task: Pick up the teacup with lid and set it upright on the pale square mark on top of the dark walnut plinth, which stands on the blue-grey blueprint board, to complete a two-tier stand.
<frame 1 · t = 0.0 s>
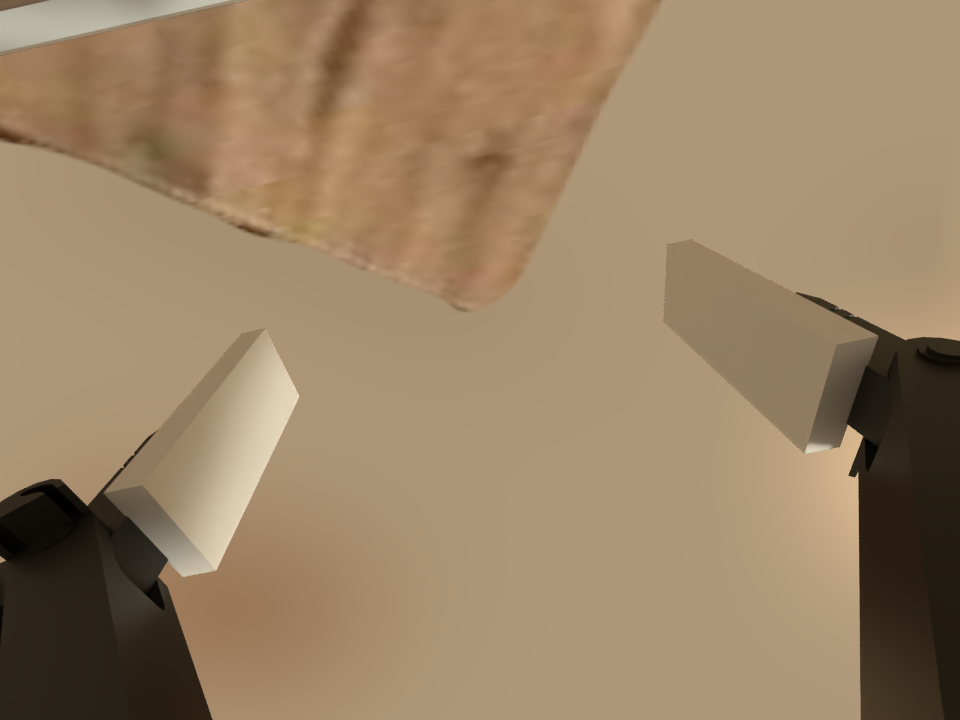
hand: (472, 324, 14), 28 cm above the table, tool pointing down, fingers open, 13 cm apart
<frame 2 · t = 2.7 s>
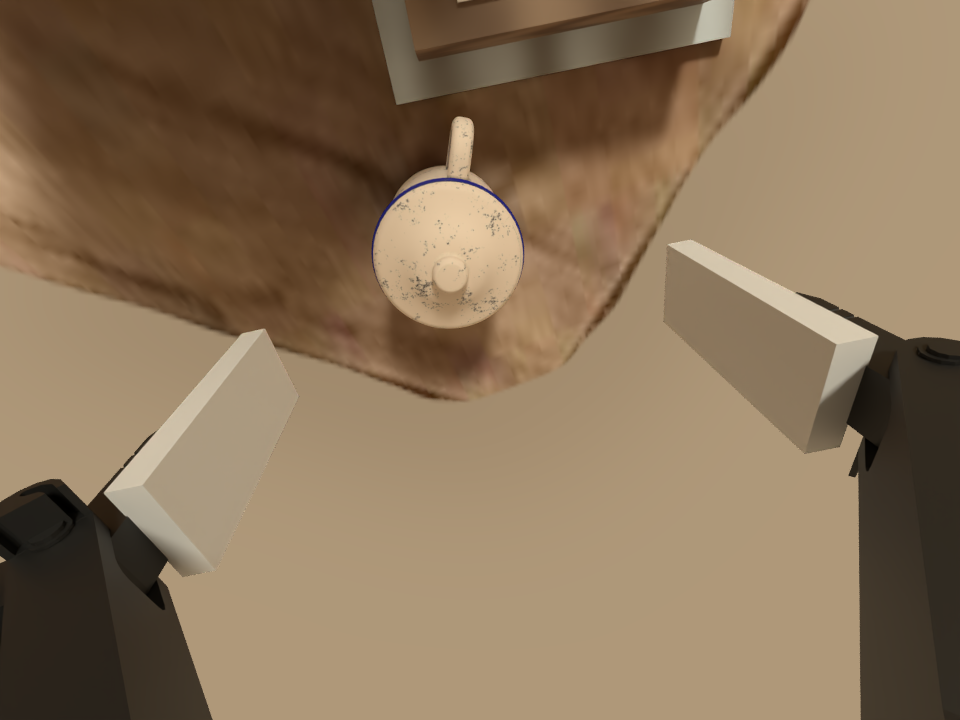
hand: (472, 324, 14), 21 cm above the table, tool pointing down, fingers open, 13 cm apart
teacup with lid: (448, 205, 32), on the table
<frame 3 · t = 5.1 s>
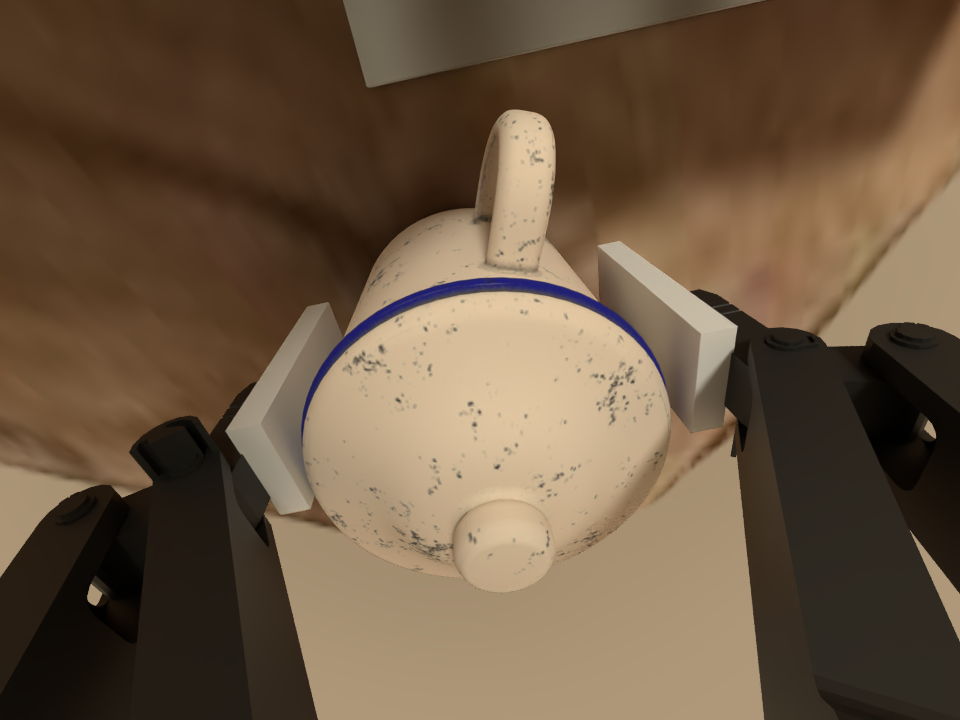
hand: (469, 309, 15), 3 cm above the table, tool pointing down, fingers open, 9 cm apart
teacup with lid: (474, 277, 17), on the table, touching gripper
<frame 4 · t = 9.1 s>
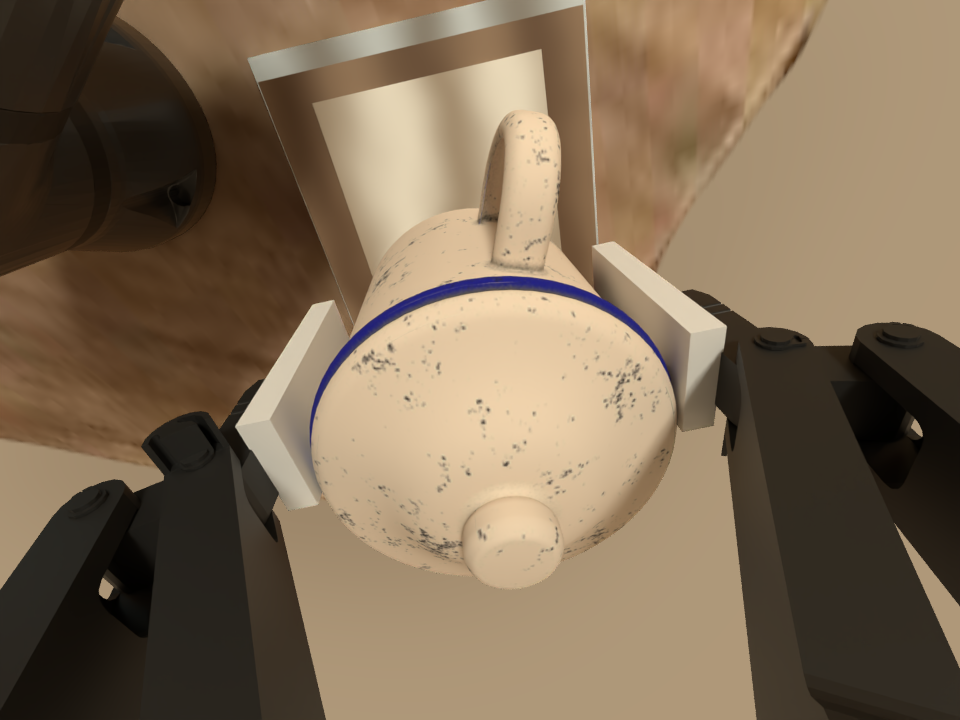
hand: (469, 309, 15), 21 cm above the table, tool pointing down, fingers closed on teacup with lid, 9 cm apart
teacup with lid: (477, 277, 17), point 19 cm above the table, touching gripper
plinth: (452, 195, 33), on the table
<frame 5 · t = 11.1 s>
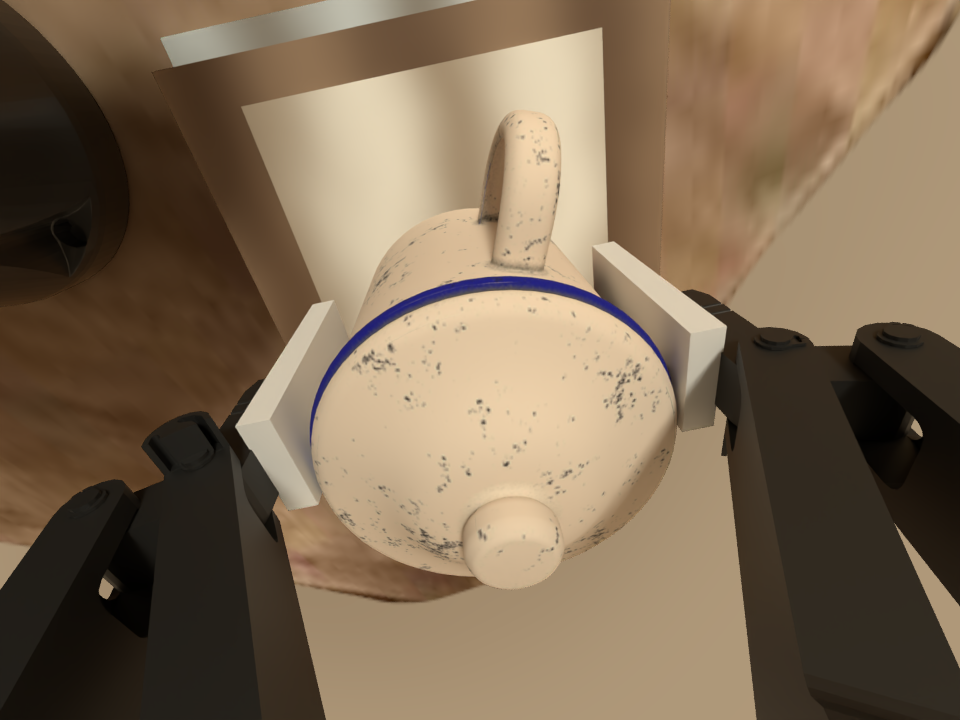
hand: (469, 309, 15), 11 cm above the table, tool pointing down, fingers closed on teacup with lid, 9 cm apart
teacup with lid: (477, 277, 17), point 9 cm above the table, touching gripper
plinth: (456, 230, 25), on the table
when the fingers open (11 cm above the table, at t = 12.6 s): teacup with lid drops 1 cm, resting on plinth.
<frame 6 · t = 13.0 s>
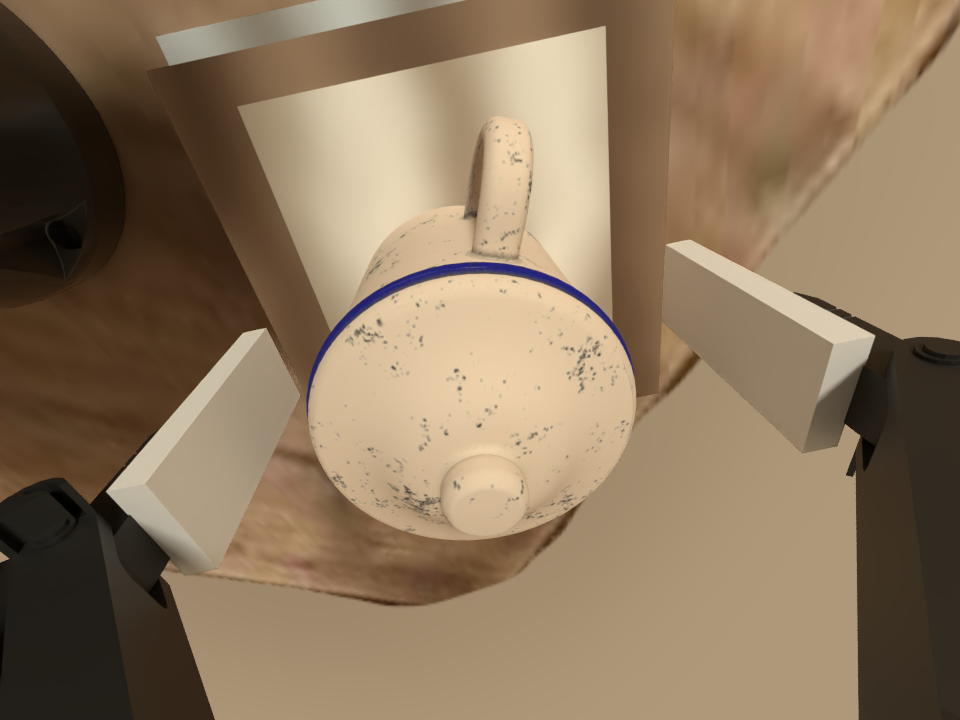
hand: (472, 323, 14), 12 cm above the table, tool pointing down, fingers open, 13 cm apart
teacup with lid: (465, 270, 19), point 7 cm above the table, touching plinth
plinth: (457, 232, 24), on the table
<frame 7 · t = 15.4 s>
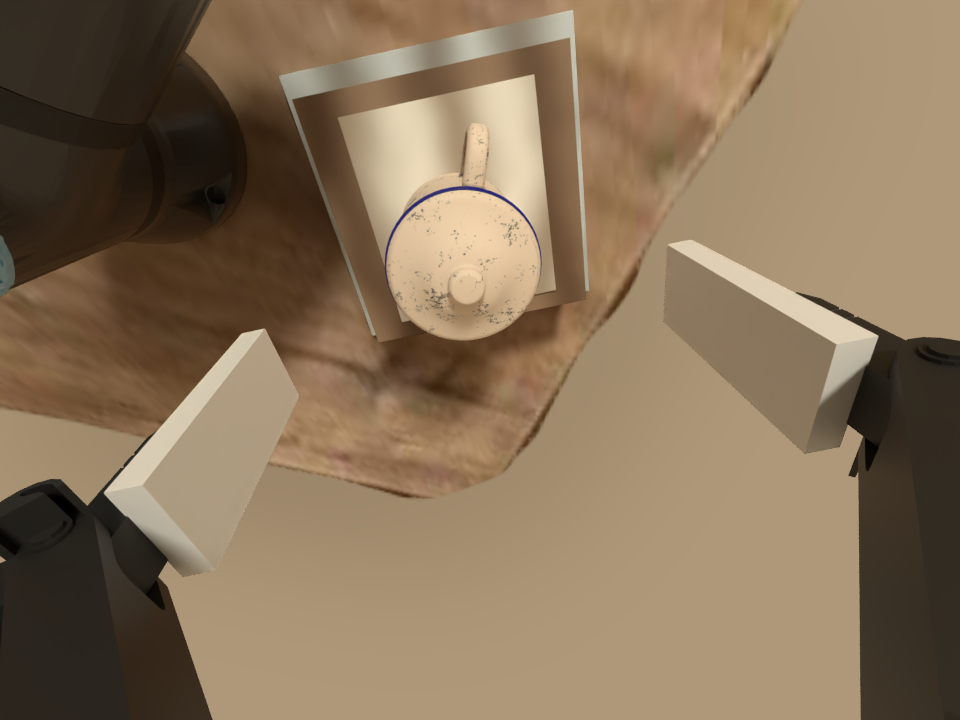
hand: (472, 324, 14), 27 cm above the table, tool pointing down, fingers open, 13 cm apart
teacup with lid: (460, 213, 31), point 7 cm above the table, touching plinth
plinth: (456, 197, 37), on the table
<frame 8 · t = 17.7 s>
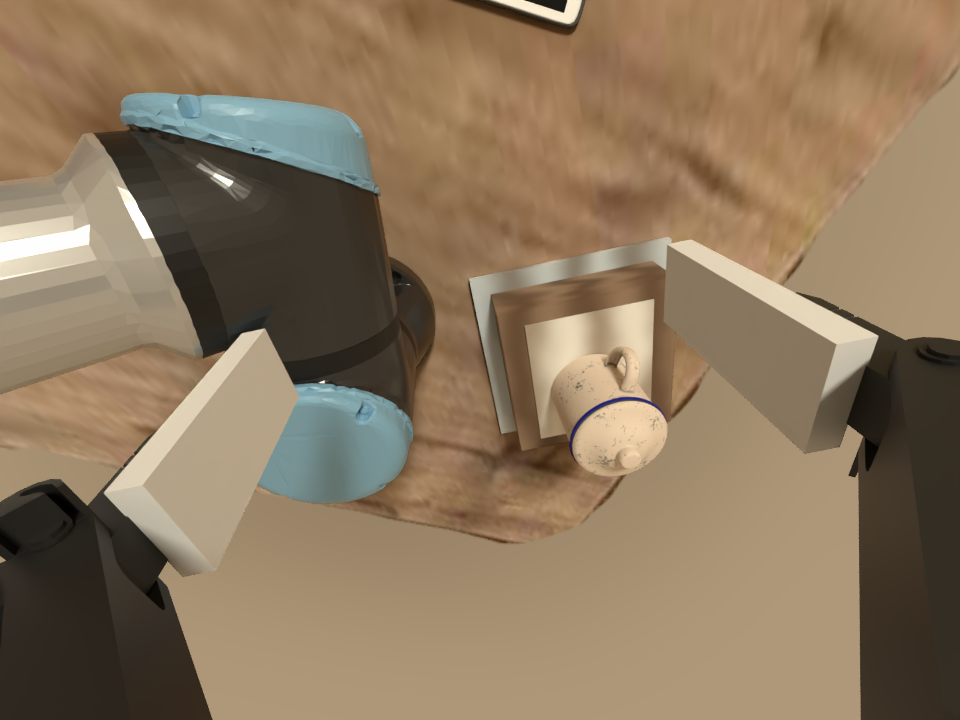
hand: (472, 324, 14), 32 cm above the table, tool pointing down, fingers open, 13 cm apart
teacup with lid: (593, 374, 46), point 7 cm above the table, touching plinth
plinth: (574, 344, 52), on the table
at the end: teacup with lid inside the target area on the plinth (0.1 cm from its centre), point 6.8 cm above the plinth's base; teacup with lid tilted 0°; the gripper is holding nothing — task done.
